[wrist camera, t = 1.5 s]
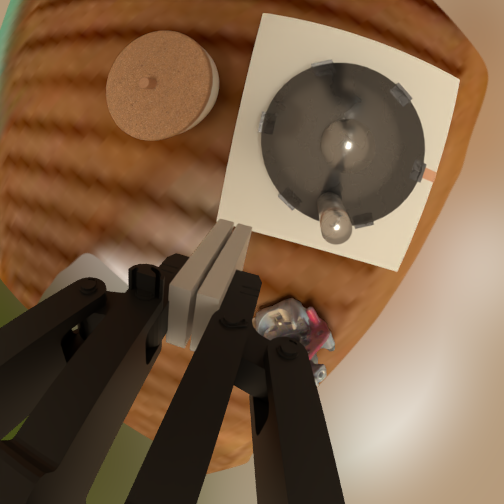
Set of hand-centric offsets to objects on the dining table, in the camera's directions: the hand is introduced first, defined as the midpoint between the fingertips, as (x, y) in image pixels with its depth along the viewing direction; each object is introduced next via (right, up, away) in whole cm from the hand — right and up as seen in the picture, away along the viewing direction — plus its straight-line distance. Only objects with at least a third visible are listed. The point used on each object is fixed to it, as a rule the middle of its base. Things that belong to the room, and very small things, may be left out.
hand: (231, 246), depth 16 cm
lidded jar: (-6, +18, +14) cm, 23 cm away
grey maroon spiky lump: (+7, -10, +25) cm, 27 cm away
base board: (+11, +11, +13) cm, 20 cm away
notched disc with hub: (+10, +11, +12) cm, 19 cm away
